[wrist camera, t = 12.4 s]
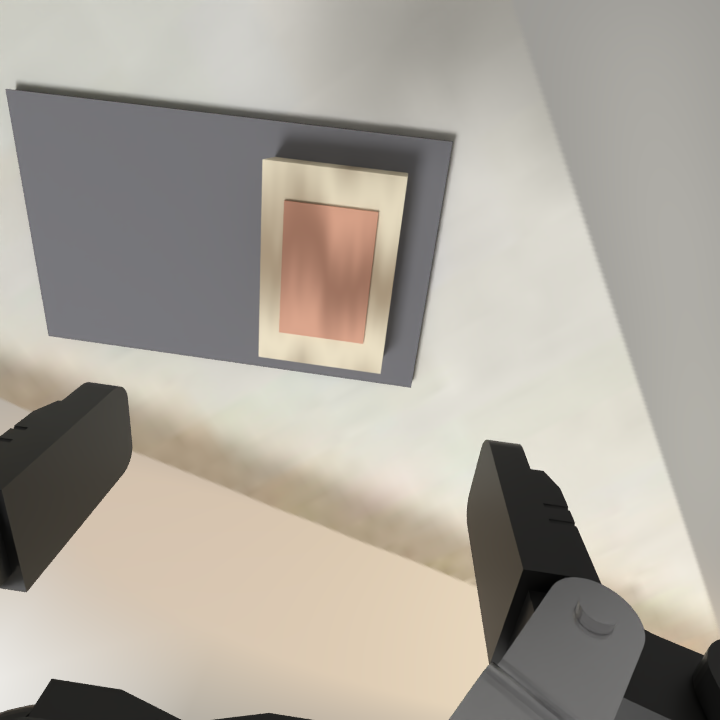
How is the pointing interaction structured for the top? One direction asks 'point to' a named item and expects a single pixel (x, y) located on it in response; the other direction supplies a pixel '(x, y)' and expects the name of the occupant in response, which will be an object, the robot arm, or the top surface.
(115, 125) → the mat
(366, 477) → the top surface
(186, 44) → the top surface
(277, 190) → the wooden block
